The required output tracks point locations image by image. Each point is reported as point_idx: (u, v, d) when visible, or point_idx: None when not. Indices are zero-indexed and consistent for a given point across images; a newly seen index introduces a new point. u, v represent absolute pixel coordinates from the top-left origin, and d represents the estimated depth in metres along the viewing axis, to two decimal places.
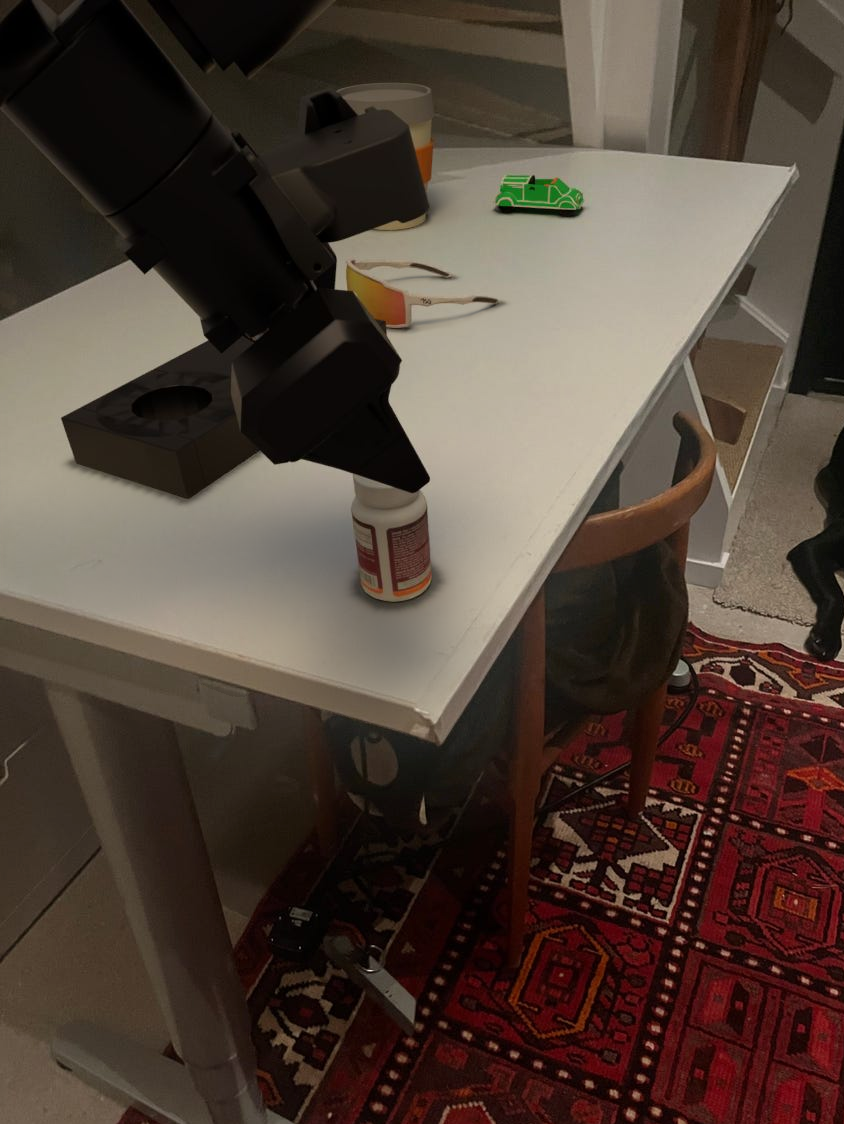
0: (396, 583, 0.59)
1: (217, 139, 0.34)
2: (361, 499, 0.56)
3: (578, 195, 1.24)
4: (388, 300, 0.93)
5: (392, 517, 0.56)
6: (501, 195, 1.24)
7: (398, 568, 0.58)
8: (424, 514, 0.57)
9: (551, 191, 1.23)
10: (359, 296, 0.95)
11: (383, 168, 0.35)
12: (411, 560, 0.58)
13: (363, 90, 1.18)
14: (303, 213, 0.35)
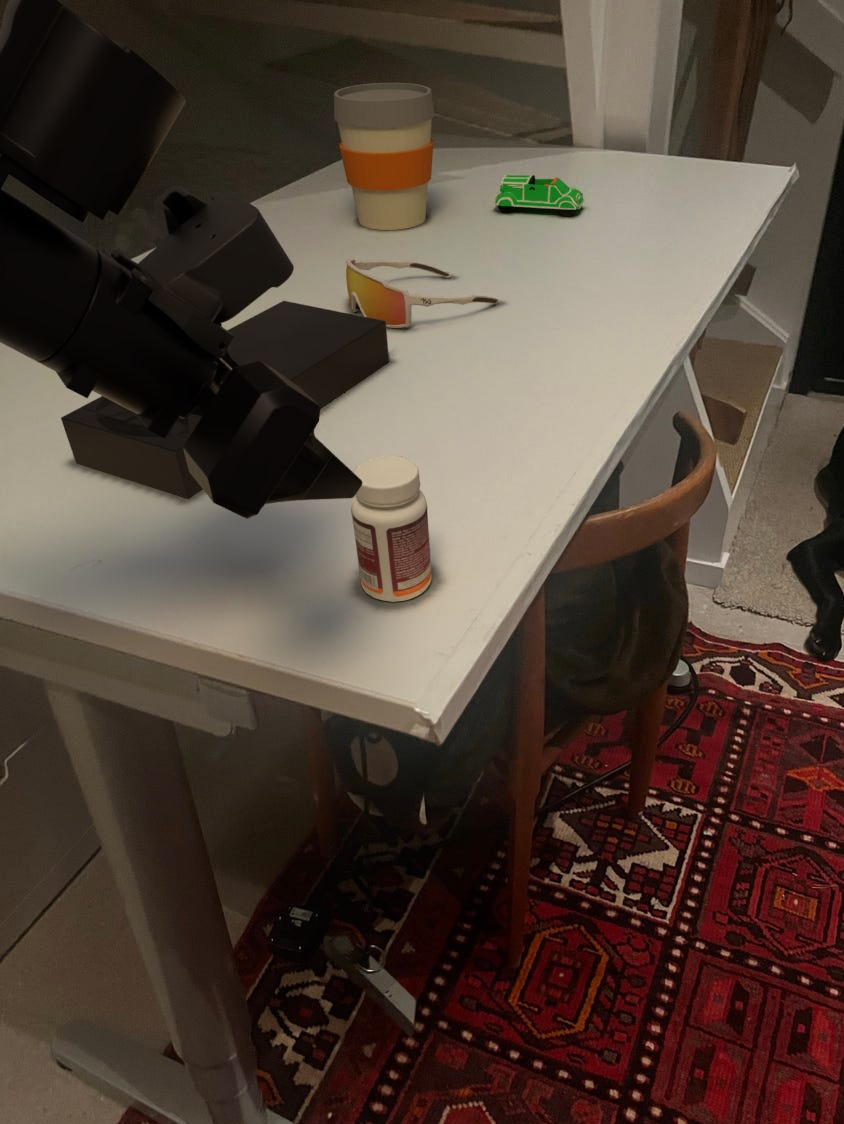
0: (396, 583, 0.59)
1: (110, 272, 0.40)
2: (361, 499, 0.56)
3: (578, 195, 1.24)
4: (388, 300, 0.93)
5: (392, 517, 0.56)
6: (501, 195, 1.24)
7: (398, 568, 0.58)
8: (424, 514, 0.57)
9: (551, 191, 1.23)
10: (359, 296, 0.95)
11: (249, 250, 0.42)
12: (411, 560, 0.58)
13: (363, 90, 1.18)
14: (198, 307, 0.42)
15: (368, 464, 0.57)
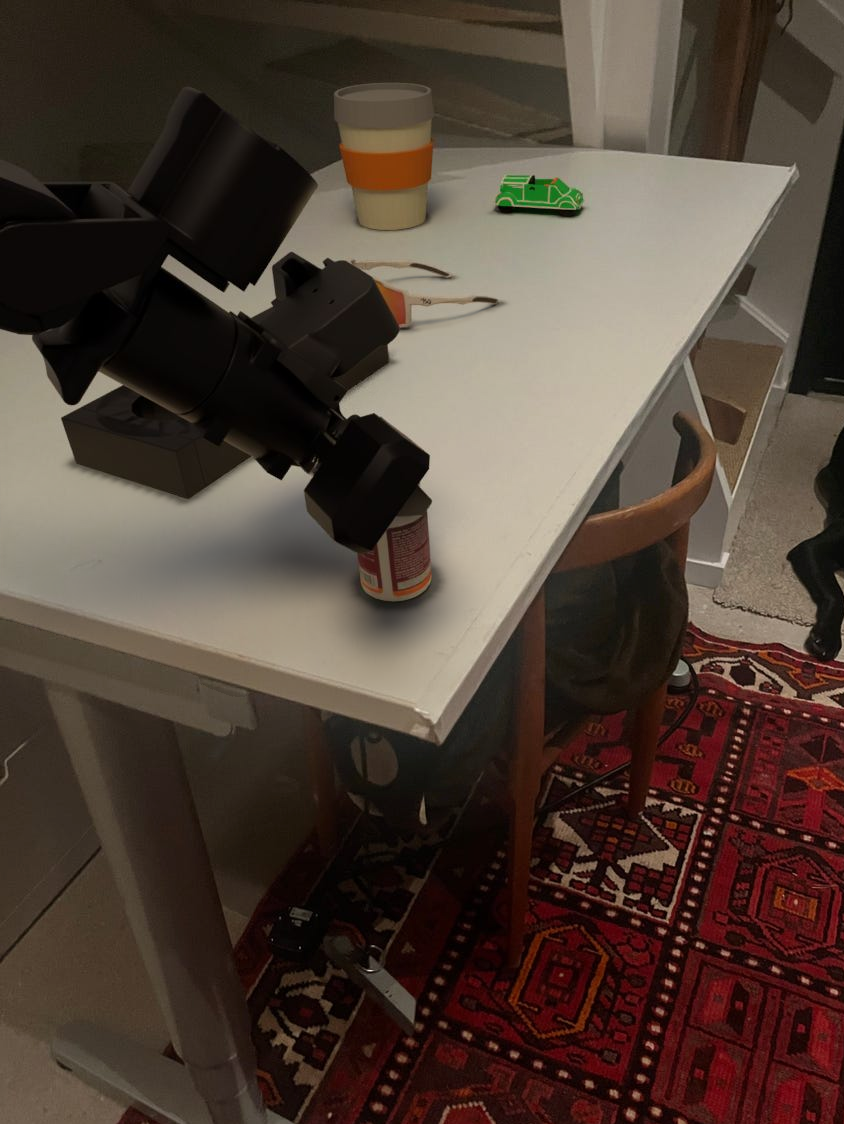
0: (395, 583, 0.59)
1: (244, 335, 0.45)
2: None
3: (578, 195, 1.24)
4: (388, 300, 0.93)
5: None
6: (501, 195, 1.24)
7: (398, 568, 0.58)
8: (424, 514, 0.57)
9: (551, 191, 1.23)
10: None
11: (364, 314, 0.47)
12: (411, 560, 0.58)
13: (363, 90, 1.18)
14: (318, 365, 0.47)
15: None
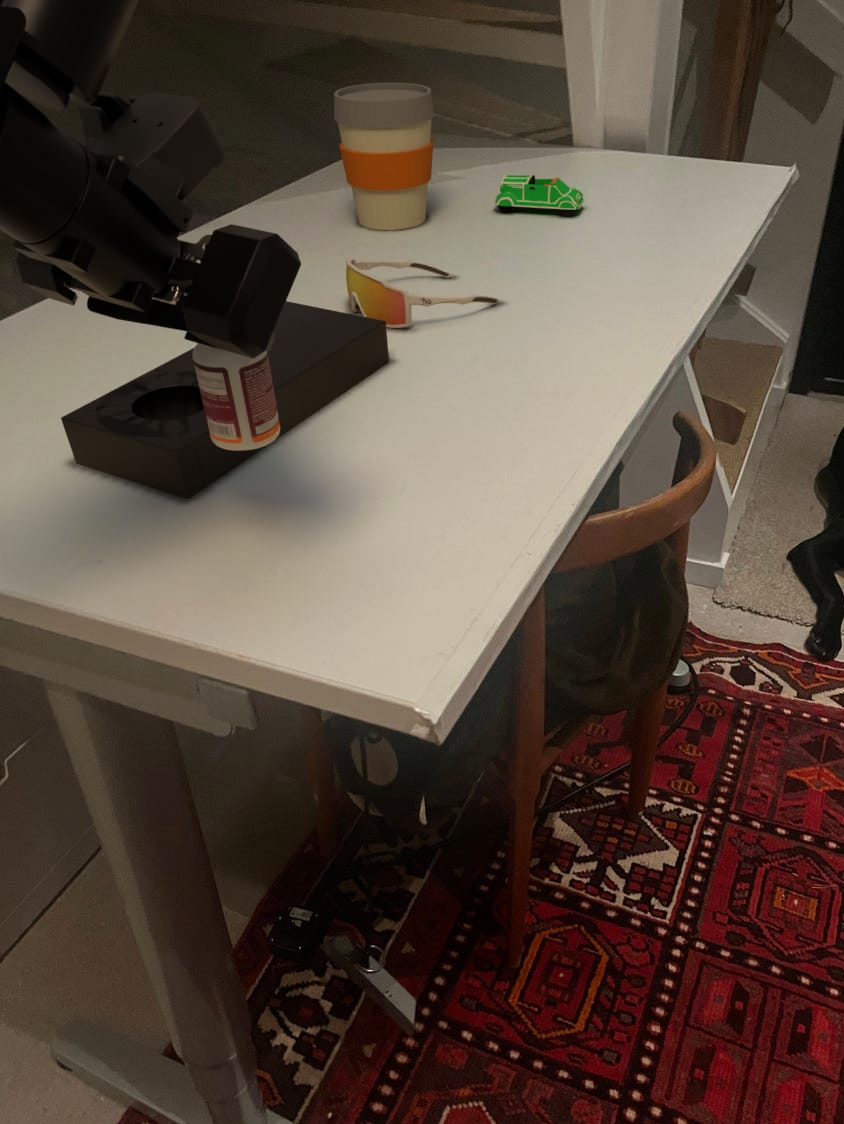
0: (253, 428, 0.61)
1: (91, 154, 0.46)
2: None
3: (578, 195, 1.24)
4: (388, 300, 0.93)
5: None
6: (501, 195, 1.24)
7: (254, 411, 0.60)
8: (267, 354, 0.60)
9: (551, 191, 1.23)
10: (359, 296, 0.95)
11: (197, 133, 0.49)
12: (264, 401, 0.60)
13: (363, 90, 1.18)
14: (165, 185, 0.49)
15: None
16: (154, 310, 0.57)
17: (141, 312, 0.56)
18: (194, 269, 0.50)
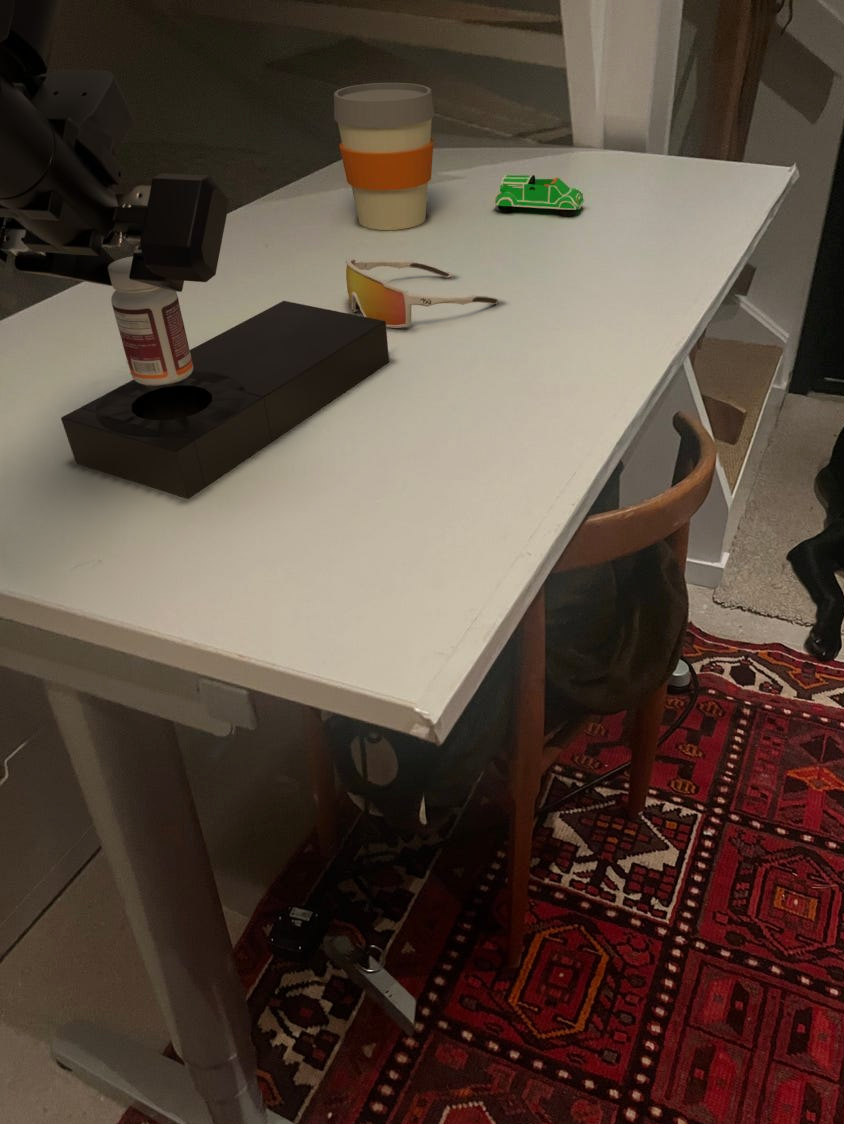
0: (176, 362, 0.70)
1: None
2: (130, 289, 0.66)
3: (578, 195, 1.24)
4: (388, 300, 0.93)
5: (162, 296, 0.67)
6: (501, 195, 1.24)
7: (176, 346, 0.69)
8: (177, 295, 0.69)
9: (551, 191, 1.23)
10: (359, 296, 0.95)
11: (116, 100, 0.58)
12: (182, 337, 0.70)
13: (363, 90, 1.18)
14: (101, 144, 0.57)
15: (115, 265, 0.67)
16: (76, 265, 0.65)
17: (68, 267, 0.64)
18: (138, 213, 0.59)
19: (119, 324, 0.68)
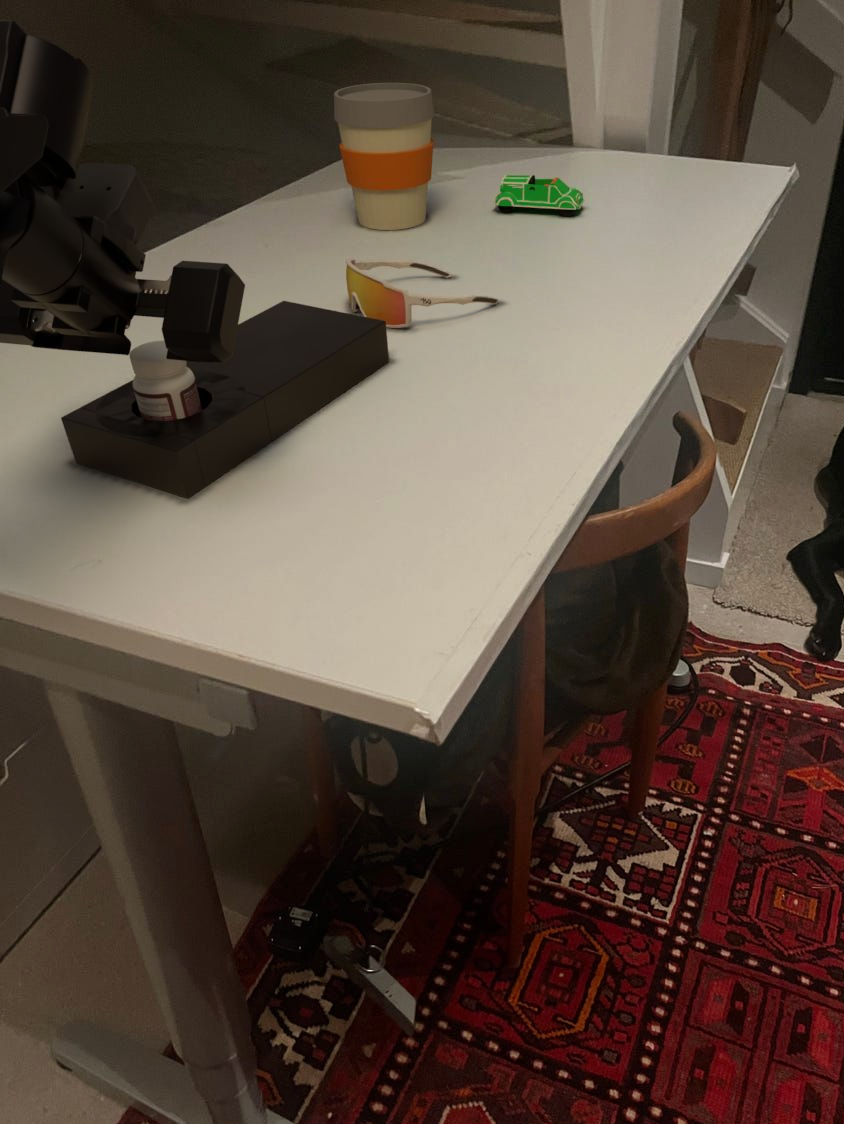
0: None
1: None
2: (150, 376, 0.70)
3: (578, 195, 1.24)
4: (388, 300, 0.93)
5: (180, 381, 0.71)
6: (501, 195, 1.24)
7: None
8: (194, 377, 0.73)
9: (551, 191, 1.23)
10: (359, 296, 0.95)
11: (138, 192, 0.62)
12: None
13: (363, 90, 1.18)
14: (125, 236, 0.61)
15: (136, 351, 0.71)
16: (85, 338, 0.69)
17: (77, 341, 0.68)
18: (160, 299, 0.62)
19: (140, 406, 0.72)
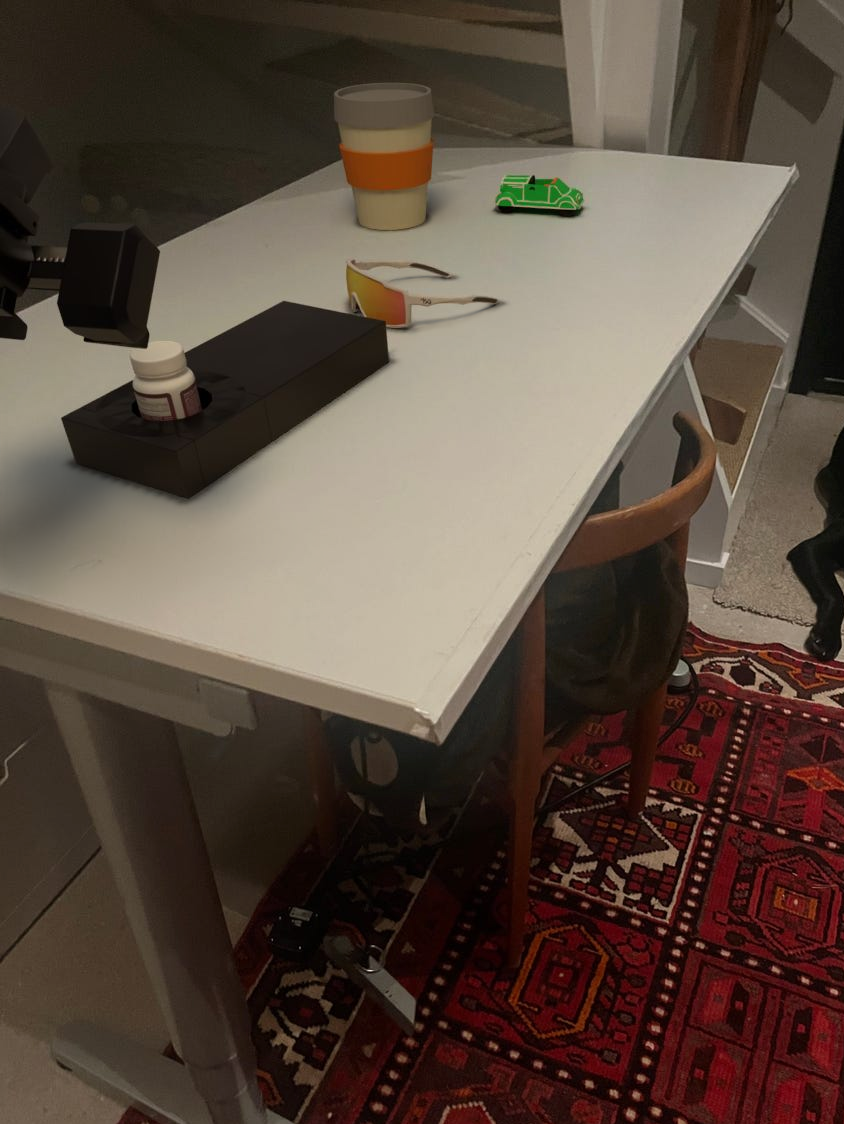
0: None
1: None
2: (150, 375, 0.70)
3: (578, 195, 1.24)
4: (388, 300, 0.93)
5: (180, 381, 0.71)
6: (501, 195, 1.24)
7: None
8: (194, 377, 0.73)
9: (551, 191, 1.23)
10: (359, 296, 0.95)
11: (28, 141, 0.52)
12: None
13: (363, 90, 1.18)
14: (11, 192, 0.51)
15: (136, 351, 0.71)
16: None
17: None
18: (56, 268, 0.52)
19: (140, 406, 0.72)
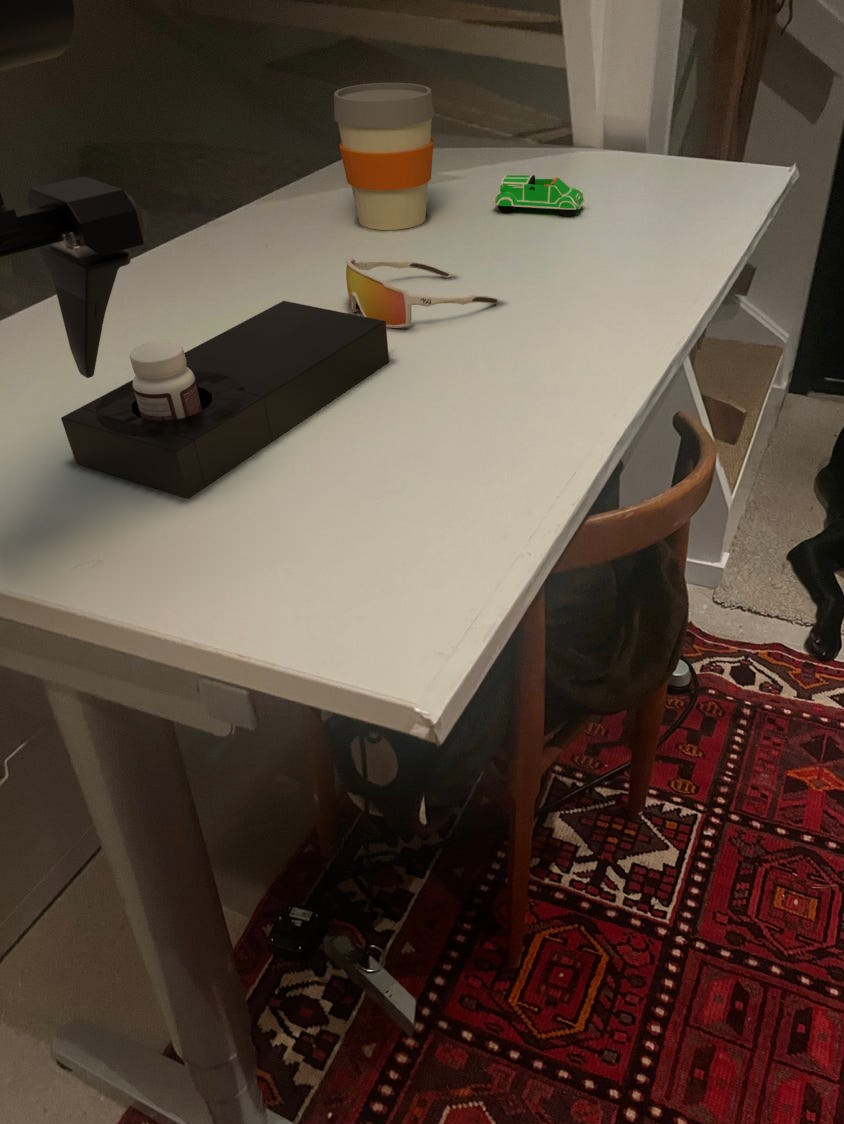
0: None
1: None
2: (150, 375, 0.70)
3: (578, 195, 1.24)
4: (388, 300, 0.93)
5: (180, 381, 0.71)
6: (501, 195, 1.24)
7: None
8: (194, 377, 0.73)
9: (551, 191, 1.23)
10: (359, 296, 0.95)
11: None
12: None
13: (363, 90, 1.18)
14: None
15: (136, 351, 0.71)
16: None
17: None
18: (34, 209, 0.50)
19: (140, 406, 0.72)
